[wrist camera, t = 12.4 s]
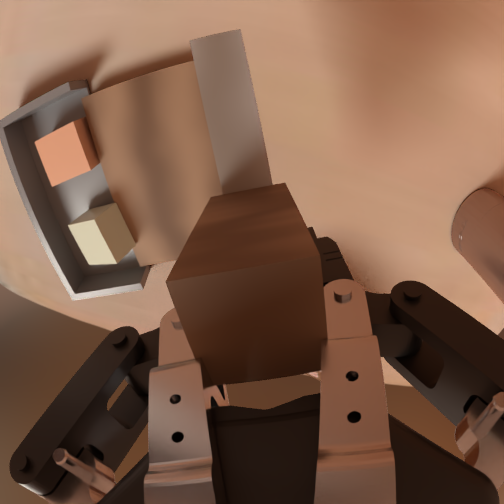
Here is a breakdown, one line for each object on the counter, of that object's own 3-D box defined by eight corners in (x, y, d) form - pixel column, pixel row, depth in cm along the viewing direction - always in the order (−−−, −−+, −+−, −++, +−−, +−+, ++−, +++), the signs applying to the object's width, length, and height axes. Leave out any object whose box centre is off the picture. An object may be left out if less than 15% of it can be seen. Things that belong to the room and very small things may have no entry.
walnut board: (198, 61, 22) (195, 59, 20) (239, 237, 31) (239, 248, 29) (90, 96, 22) (81, 98, 21) (144, 255, 31) (140, 266, 30)
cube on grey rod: (253, 44, 12) (252, -70, 3) (303, 328, 19) (332, 476, 9) (191, 58, 13) (97, -26, 3) (255, 336, 19) (255, 485, 10)
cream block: (116, 202, 26) (94, 219, 23) (136, 244, 28) (117, 263, 26) (88, 209, 28) (67, 225, 25) (107, 247, 30) (89, 264, 28)
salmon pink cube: (88, 115, 23) (73, 121, 20) (103, 160, 25) (91, 170, 23) (51, 134, 23) (34, 142, 21) (66, 175, 26) (52, 186, 23)
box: (86, 79, 21) (68, 81, 18) (150, 268, 32) (143, 289, 29) (16, 115, 22) (-5, 123, 19) (83, 281, 33) (72, 300, 30)
